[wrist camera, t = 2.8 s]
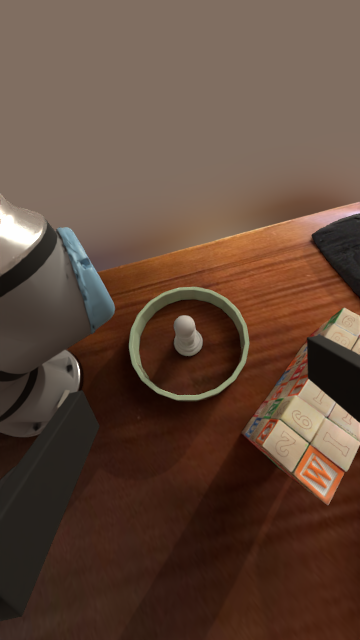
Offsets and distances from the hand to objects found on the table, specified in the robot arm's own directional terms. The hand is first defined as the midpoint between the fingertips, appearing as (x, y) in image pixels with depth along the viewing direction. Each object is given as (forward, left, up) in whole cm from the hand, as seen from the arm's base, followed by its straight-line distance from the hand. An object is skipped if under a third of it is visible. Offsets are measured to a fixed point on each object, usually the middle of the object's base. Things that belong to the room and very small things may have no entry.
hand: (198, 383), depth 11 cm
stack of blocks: (+14, +6, -23) cm, 27 cm away
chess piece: (-5, +9, -23) cm, 25 cm away
